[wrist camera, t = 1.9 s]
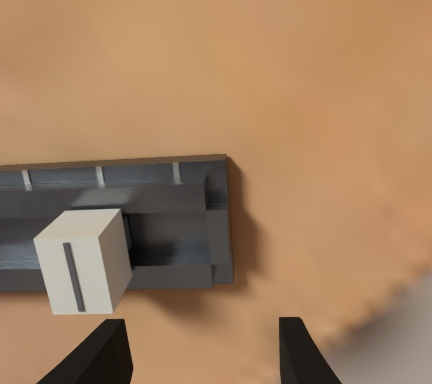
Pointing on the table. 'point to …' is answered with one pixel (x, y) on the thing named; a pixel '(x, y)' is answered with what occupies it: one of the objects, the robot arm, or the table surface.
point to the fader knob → (85, 260)
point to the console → (136, 215)
